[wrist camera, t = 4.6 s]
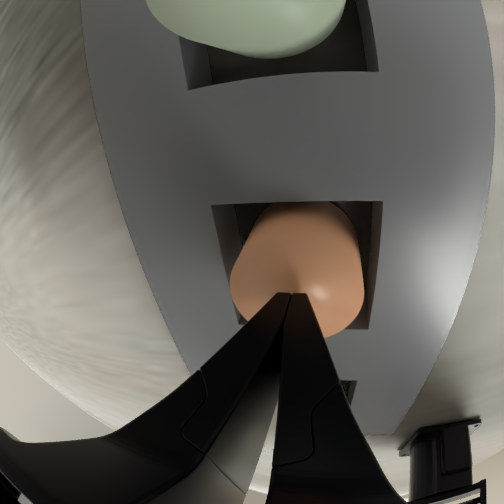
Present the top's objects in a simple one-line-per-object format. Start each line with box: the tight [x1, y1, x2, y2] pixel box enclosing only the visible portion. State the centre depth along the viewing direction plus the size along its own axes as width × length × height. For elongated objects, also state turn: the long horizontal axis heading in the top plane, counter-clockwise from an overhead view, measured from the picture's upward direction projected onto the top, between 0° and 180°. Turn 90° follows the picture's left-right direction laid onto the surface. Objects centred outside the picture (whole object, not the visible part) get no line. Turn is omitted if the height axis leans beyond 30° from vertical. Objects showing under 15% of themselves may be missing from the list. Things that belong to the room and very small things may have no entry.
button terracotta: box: [230, 201, 364, 338], centre depth 10 cm, size 4×4×3 cm
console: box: [80, 0, 495, 435], centre depth 10 cm, size 26×12×2 cm, turn 8°
